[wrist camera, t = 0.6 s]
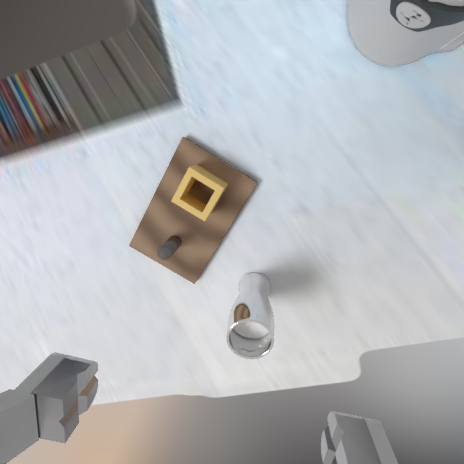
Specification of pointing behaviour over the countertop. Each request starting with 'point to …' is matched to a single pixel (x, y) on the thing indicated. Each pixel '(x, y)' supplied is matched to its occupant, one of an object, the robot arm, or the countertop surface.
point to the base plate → (190, 214)
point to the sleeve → (193, 203)
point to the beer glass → (251, 318)
